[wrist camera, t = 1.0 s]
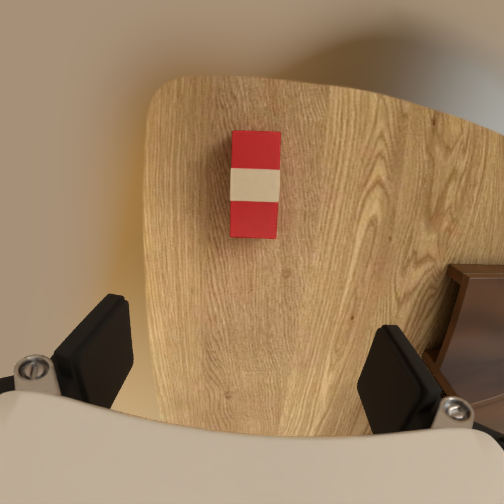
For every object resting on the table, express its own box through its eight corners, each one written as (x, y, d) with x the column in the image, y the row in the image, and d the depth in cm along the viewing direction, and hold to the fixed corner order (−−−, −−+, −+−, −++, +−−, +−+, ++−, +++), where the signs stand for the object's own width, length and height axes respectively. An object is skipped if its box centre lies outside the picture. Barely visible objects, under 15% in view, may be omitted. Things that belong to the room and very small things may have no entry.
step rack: (448, 263, 27) (507, 305, 17) (539, 265, 27) (588, 294, 17) (399, 411, 33) (424, 467, 24) (491, 390, 33) (521, 430, 23)
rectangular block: (234, 133, 24) (231, 130, 21) (279, 134, 24) (281, 131, 21) (232, 228, 26) (229, 237, 23) (274, 229, 26) (276, 239, 23)
